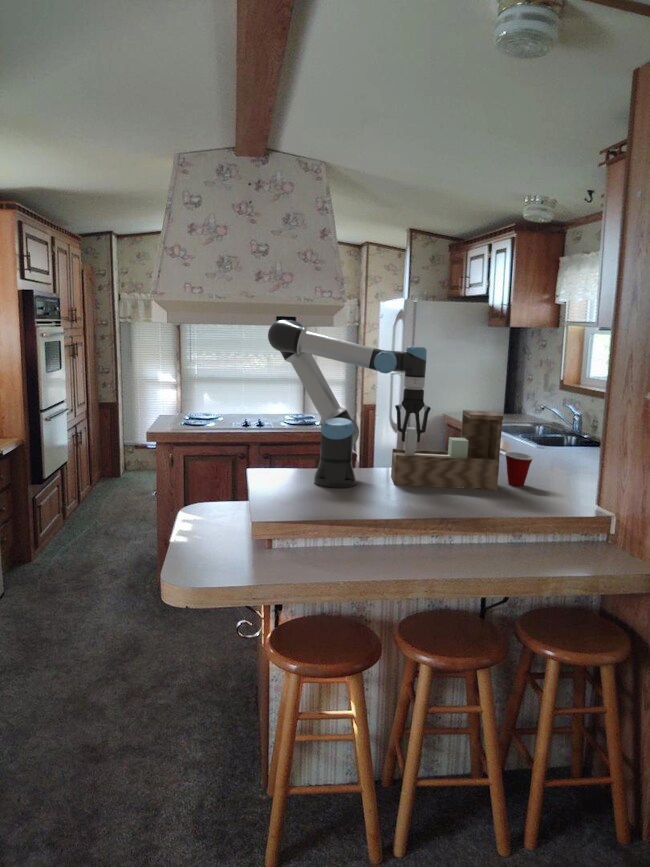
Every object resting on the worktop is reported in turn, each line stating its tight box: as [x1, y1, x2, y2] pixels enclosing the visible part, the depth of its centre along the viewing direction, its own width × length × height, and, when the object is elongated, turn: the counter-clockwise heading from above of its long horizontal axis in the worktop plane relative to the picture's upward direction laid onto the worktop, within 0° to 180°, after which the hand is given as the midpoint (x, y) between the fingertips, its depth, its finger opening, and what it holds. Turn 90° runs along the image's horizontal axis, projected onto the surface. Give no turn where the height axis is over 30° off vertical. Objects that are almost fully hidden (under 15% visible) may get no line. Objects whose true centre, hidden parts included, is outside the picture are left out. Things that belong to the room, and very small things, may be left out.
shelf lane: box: [390, 409, 504, 490], centre depth 249 cm, size 38×14×28 cm, turn 89°
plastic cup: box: [504, 451, 535, 487], centre depth 253 cm, size 11×11×12 cm
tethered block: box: [405, 426, 468, 458], centre depth 249 cm, size 22×7×10 cm, turn 89°
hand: (409, 450), depth 249 cm, fingers closed on tethered block, 3 cm apart
